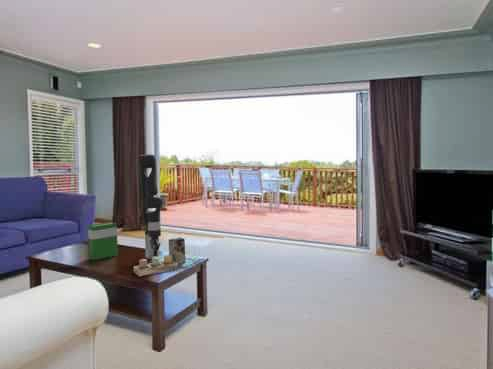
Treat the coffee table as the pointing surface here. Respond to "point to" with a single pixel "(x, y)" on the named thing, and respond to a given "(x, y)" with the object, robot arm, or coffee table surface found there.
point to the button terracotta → (143, 263)
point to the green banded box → (102, 240)
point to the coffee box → (177, 249)
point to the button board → (155, 268)
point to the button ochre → (167, 259)
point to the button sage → (155, 261)
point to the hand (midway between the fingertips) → (155, 256)
